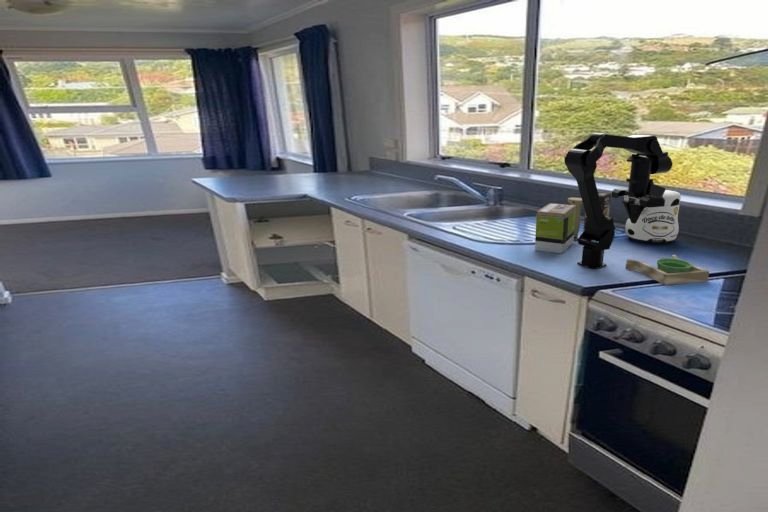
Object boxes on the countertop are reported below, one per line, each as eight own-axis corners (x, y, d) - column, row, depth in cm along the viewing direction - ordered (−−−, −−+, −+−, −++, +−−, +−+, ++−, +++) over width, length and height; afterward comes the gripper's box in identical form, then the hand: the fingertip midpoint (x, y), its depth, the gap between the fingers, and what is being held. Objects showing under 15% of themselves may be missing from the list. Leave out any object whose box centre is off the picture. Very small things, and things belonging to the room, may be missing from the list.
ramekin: (693, 283, 137) (695, 268, 136) (658, 280, 140) (660, 266, 139) (685, 272, 145) (688, 259, 144) (652, 270, 148) (654, 257, 147)
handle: (568, 234, 190) (571, 197, 185) (584, 237, 185) (587, 199, 181) (562, 236, 187) (565, 198, 182) (578, 239, 182) (582, 201, 178)
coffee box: (598, 237, 184) (603, 196, 179) (582, 235, 188) (586, 194, 183) (607, 232, 190) (612, 192, 185) (591, 230, 194) (595, 191, 189)
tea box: (546, 240, 183) (549, 202, 179) (573, 243, 178) (577, 204, 173) (533, 250, 172) (536, 210, 167) (562, 254, 166) (565, 213, 161)
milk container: (655, 249, 168) (662, 199, 162) (613, 238, 183) (619, 191, 177) (687, 242, 175) (695, 193, 169) (644, 231, 190) (650, 186, 184)
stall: (624, 267, 151) (625, 258, 150) (673, 263, 153) (674, 254, 152) (659, 285, 136) (661, 275, 135) (713, 280, 138) (714, 270, 137)
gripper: (684, 178, 144) (676, 228, 148) (643, 170, 161) (637, 215, 166) (651, 180, 142) (644, 231, 147) (613, 172, 160) (607, 217, 164)
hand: (633, 223), depth 156 cm, fingers closed
